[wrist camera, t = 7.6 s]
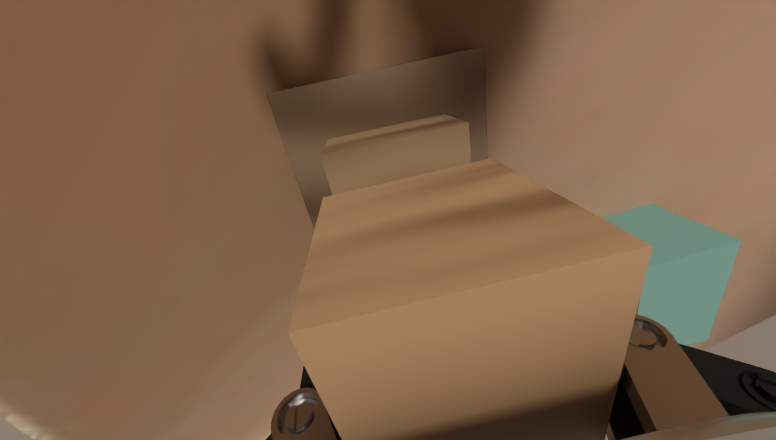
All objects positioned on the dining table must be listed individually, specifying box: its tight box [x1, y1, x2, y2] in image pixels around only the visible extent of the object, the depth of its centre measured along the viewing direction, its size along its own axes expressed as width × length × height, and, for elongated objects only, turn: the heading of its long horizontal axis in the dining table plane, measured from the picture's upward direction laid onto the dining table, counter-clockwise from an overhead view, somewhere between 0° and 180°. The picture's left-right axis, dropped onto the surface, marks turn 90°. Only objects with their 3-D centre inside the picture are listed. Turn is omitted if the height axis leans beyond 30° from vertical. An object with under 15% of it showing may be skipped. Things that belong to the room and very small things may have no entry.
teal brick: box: [603, 204, 742, 346], centre depth 22 cm, size 9×6×6 cm, turn 16°
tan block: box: [288, 158, 653, 440], centre depth 9 cm, size 9×6×6 cm, turn 12°
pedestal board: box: [266, 46, 488, 230], centre depth 18 cm, size 16×12×5 cm
